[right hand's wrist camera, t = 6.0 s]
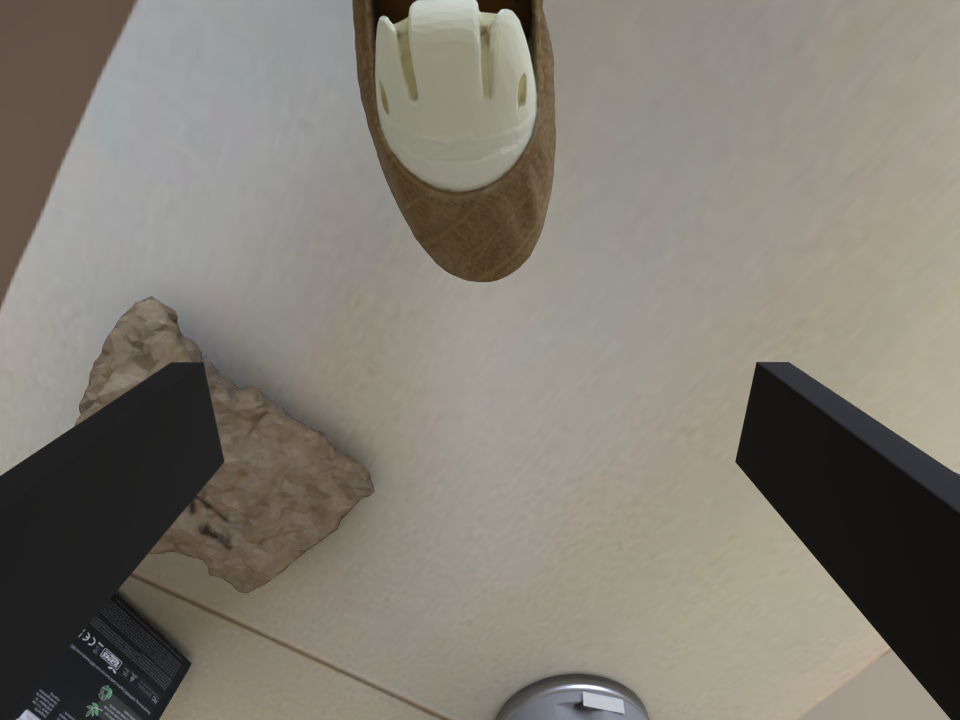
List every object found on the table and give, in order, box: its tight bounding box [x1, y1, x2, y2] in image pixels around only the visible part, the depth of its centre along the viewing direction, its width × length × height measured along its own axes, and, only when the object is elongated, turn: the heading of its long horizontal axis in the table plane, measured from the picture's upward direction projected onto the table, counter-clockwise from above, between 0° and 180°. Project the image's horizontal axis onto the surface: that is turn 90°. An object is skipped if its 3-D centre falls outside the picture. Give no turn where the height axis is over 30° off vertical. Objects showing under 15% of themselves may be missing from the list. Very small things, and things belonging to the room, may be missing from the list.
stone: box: [74, 296, 375, 593], centre depth 38 cm, size 21×15×6 cm
